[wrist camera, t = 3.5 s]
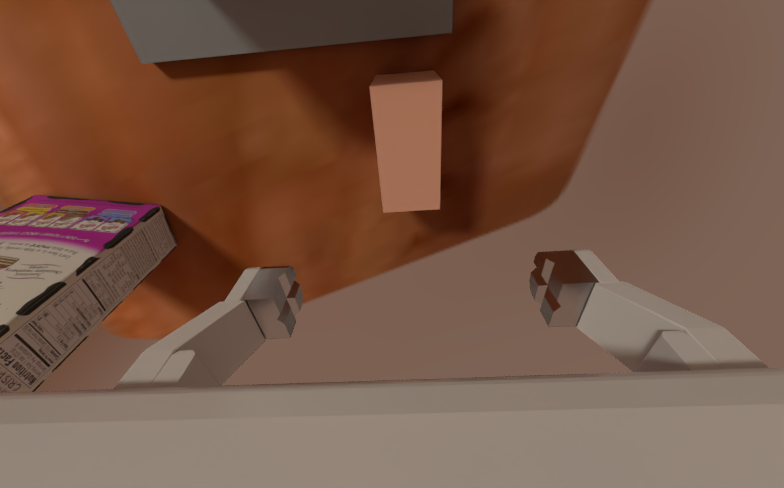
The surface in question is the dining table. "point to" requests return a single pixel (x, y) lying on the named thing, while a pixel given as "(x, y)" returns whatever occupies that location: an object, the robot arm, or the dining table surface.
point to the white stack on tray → (270, 24)
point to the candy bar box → (68, 276)
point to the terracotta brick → (408, 139)
